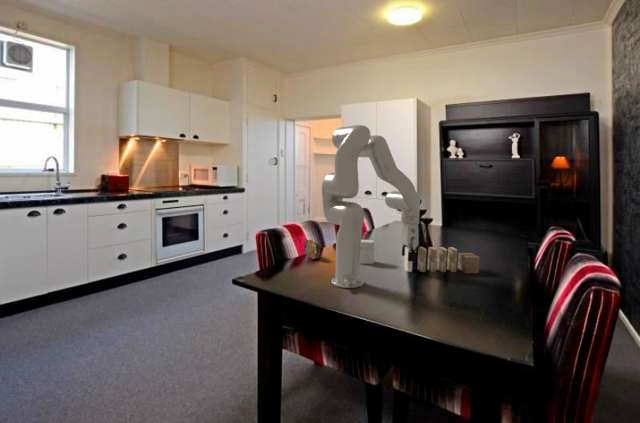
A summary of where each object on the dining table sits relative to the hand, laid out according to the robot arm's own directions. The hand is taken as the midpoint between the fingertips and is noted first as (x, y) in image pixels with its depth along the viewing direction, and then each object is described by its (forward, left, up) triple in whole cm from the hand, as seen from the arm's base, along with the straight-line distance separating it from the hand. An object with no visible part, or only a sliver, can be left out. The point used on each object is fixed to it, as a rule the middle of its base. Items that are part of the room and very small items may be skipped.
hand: (408, 258), depth 160 cm
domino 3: (0, -10, -5) cm, 12 cm away
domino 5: (0, -19, -5) cm, 20 cm away
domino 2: (0, -6, -5) cm, 8 cm away
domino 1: (0, 0, -5) cm, 5 cm away
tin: (+23, +42, -6) cm, 48 cm away
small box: (+13, +17, -6) cm, 22 cm away
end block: (0, -27, -5) cm, 28 cm away
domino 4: (0, -15, -5) cm, 16 cm away
